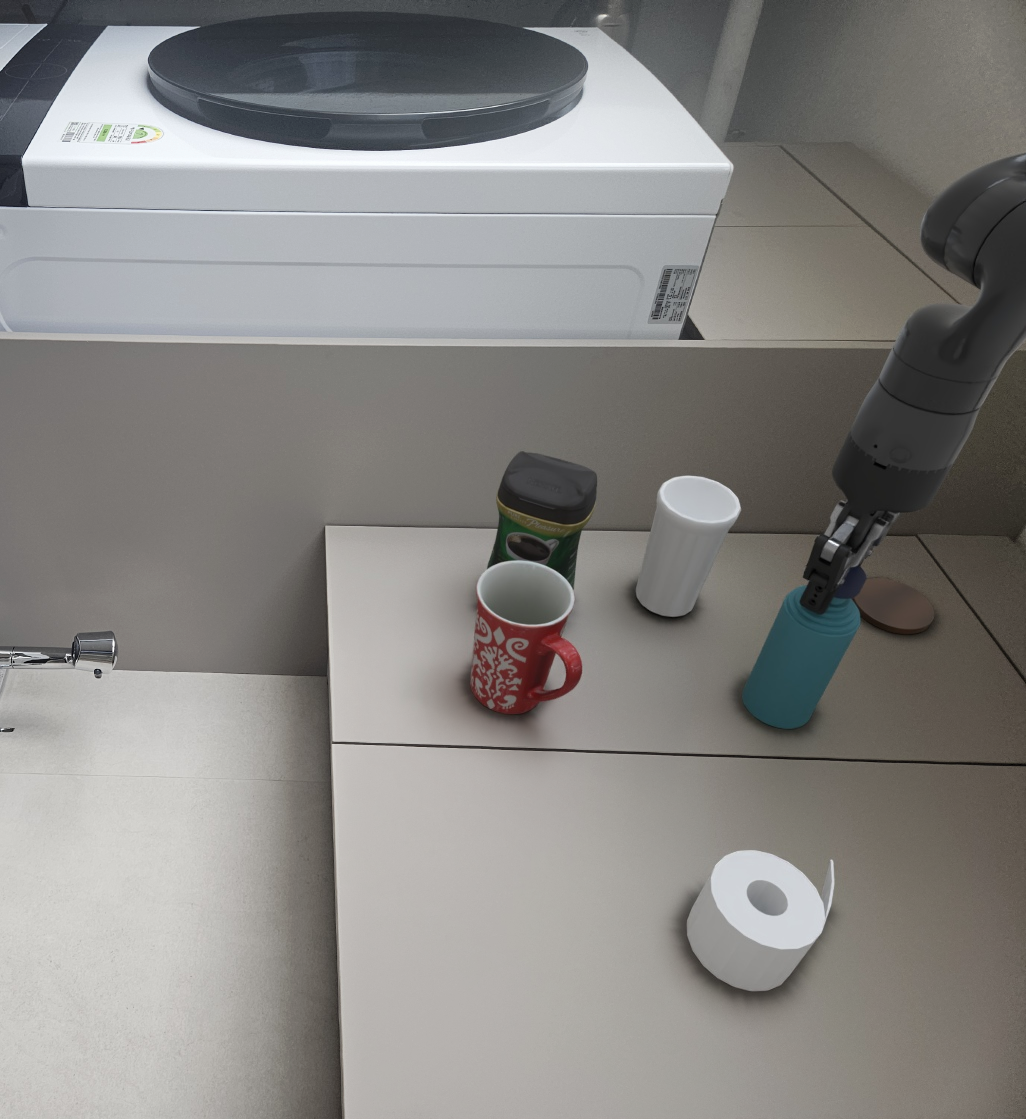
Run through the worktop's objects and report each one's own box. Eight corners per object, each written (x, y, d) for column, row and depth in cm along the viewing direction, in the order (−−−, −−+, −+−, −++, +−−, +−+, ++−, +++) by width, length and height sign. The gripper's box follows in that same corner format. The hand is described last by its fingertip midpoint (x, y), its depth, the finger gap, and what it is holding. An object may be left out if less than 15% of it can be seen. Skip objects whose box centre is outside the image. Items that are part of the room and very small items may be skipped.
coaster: (939, 603, 107) (942, 598, 106) (921, 645, 102) (924, 640, 102) (862, 573, 111) (864, 568, 110) (841, 612, 106) (844, 607, 106)
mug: (442, 671, 100) (457, 576, 91) (515, 643, 103) (536, 548, 94) (515, 761, 92) (538, 667, 83) (591, 728, 95) (622, 633, 86)
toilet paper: (824, 912, 80) (856, 868, 76) (768, 1013, 74) (799, 972, 70) (728, 852, 85) (753, 807, 80) (668, 943, 78) (691, 900, 74)
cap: (837, 604, 84) (843, 592, 83) (801, 576, 87) (807, 564, 86) (870, 591, 85) (877, 578, 84) (833, 563, 88) (840, 551, 87)
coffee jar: (577, 594, 109) (613, 460, 96) (555, 640, 104) (590, 504, 91) (494, 567, 112) (519, 434, 100) (470, 609, 107) (492, 475, 95)
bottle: (818, 698, 97) (886, 571, 86) (800, 739, 93) (869, 612, 82) (753, 670, 100) (810, 543, 89) (733, 709, 96) (790, 582, 85)
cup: (699, 633, 104) (740, 532, 94) (621, 613, 106) (654, 513, 97) (704, 585, 110) (744, 484, 100) (631, 567, 112) (662, 467, 102)
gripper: (893, 387, 82) (818, 541, 93) (815, 454, 74) (744, 612, 86) (989, 424, 77) (898, 581, 89) (916, 498, 70) (828, 659, 82)
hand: (823, 595), depth 87 cm, fingers closed on cap, 4 cm apart
